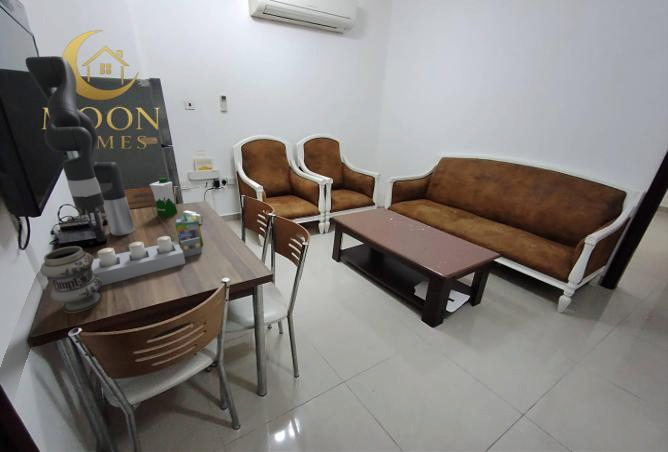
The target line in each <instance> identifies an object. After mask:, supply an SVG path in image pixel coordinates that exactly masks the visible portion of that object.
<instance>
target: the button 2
mask: <svg viewBox="0 0 668 452" xmlns="http://www.w3.org/2000/svg"><path fill="white" fill-rule="evenodd" d="M128 248H129V249H128V250H129V251H130V253H131V256H132V259H141V258H144V257H145V256H146V251H145V248H146V247H145V244H144V242H143V241H134V242H131V243H130V244H128Z"/></svg>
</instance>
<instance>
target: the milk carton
mask: <svg viewBox="0 0 668 452" xmlns="http://www.w3.org/2000/svg"><path fill="white" fill-rule="evenodd" d="M149 187H150V189H151V191H152V193H153V196H154V197H153V198H154V201H155V203H154V204H155V205H156V214H157V215H156V216H157V217H161V218H163V217H164V218H170V217H173V216H174V215H177V214H178V209H177V206H176V202H175V195H174V192H173V181H169V180H168V178H167V177H159V178H158V181H156V182H152V183H150V184H149Z"/></svg>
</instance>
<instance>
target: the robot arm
mask: <svg viewBox="0 0 668 452" xmlns="http://www.w3.org/2000/svg"><path fill="white" fill-rule="evenodd" d="M25 67H26V68H27V71H28V73H29V74H30V77H31V78H32V79H33V81H34V82H35V84H36V85H37V87H38V89H39V90H40V92H41V93H42V94H43V97H45V99H46V100H47V104H46V105H47V113H48V118H49V119H48V123H47V126H46V127H45V132H44V141H45V143H46V146H47V147H49V148H50V149H51V150H53V151H54V152H58V153H65V152H66V153H67V152H69V153H70V152H77V154H78V156H77V157H73V158H69V159H66V160H63V162H62V168H63V171H64V174H65V176H66V179H67V185H68V189H69V191H70V194H71V197H72V201H73V204H74V207H75V208H76V209H78V210H85V211H84V216H85V219H86V220H87V221H88V223H87V224H88V225H89V227H90V229H91V231H92V233H94V234H95V235H94V236H95V238H96V241H97V242H98V243H100V242H105V241H106V235H105V231H104V227H103V224H104V222H103V218H102V212H101V209H99V208H100V207H103V209H104V212H105V217H106V219H107V223H108V225H109V226H108V227H109V229H110V232H111V235H113V236H125V235H128V234H129V235H130V234H132V233H134V232H135V231H136V229H135V225H134V221H133V217H132V214H131V210H130V207H129V202H128V199H127V195H126V192H125V191H126V190H125V185H124V182H123V177H122V176H123V175H122V172H121V168H120V166H119V164H118V163H117V162H114V161H105V162H104V161H101V162H99V161H98V162H97V161H96V159H95V157H94V153H95V149H96V146H97V144H98V140H99V134H98V132H97V129H96V128H95V125H94V123H93V121H92V120H91V118H90V117H89V116H87V115H86V114H85V113H84V111H81V110H80V109H78V107H77V106H78V105H77V79H76V75H75V72H74V70H73V67H71V64H70V63H69V61H68V60H67V59H66V58H65V57H62V56H59V55H58V56H57V55H56V56H54V55H52V56H49V55H48V56H29V57H26V59H25ZM55 88H57V89H55ZM100 184H111V187H110V188H107V189H105V190H101V186H100Z"/></svg>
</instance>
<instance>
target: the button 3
mask: <svg viewBox="0 0 668 452" xmlns="http://www.w3.org/2000/svg"><path fill="white" fill-rule="evenodd" d="M171 239H172V238H171V237H170V236H168V235H164V236H160V237H157V239H156V243H157V245H158V247H159V251H160V252H161V253H167V252H170V251H172V250H173V247H172V243H171V242H172V240H171Z"/></svg>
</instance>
